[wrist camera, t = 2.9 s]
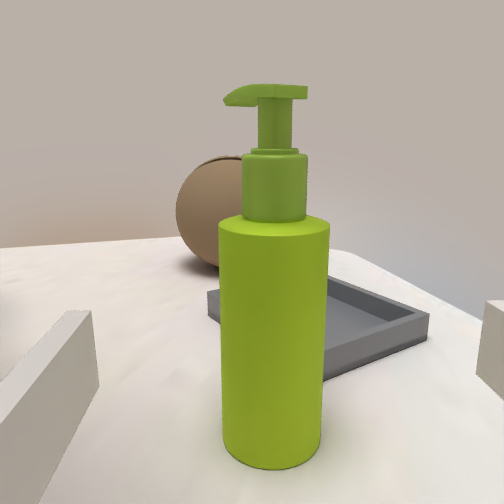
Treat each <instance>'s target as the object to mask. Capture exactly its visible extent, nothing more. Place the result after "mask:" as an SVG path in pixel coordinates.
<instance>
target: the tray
mask: <svg viewBox="0 0 504 504" xmlns="http://www.w3.org/2000/svg"><path fill="white" fill-rule="evenodd" d="M207 299H208V315H209V316H210V317H212V318H213V319H214V320H216V321H217V322H218V323H220V289H217V290H213V291H208V292H207ZM429 315H430V314H429V313H426V312H423V311H421V310H418V309H415V308H413V307H410V306H407V305H405V304H402V303H400V302H397V301H394V300H392V299H389V298H386V297H384V296H381V295H378V294H376V293H373V292H371V291H368V290H365V289H363V288H360V287H357V286H355V285H352V284H349V283H347V282H344V281H341V280H339V279H336V278H334V277H331V276H328V279H327V301H326V322H325V344H324V366H323V381H325V380H327V379H330V378H332V377H335V376H338V375H340V374H343V373H345V372H348V371H350V370H353V369H355V368H358V367H360V366H363V365H365V364H368V363H370V362H373V361H375V360H378V359H380V358H383V357H385V356H388V355H390V354H393V353H395V352H398V351H401V350H403V349H406V348H408V347H411V346H413V345H416V344H418V343H421V342H423V341H426V340H427V333H428V324H429Z"/></svg>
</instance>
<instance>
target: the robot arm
mask: <svg viewBox="0 0 504 504" xmlns="http://www.w3.org/2000/svg"><path fill="white" fill-rule="evenodd" d="M476 375H478V376H479V377H480V378H481V379H482V380H483V381H484V382H485V383H486V384H487V385H488V386H489V387H490V388H491V389H492V390H493V391H494V392H495V393H496V394H497V395H498V396H500V397H501V398H502V399H503V400H504V300H490V301H489V300H488V301H486V302H485V310H484V317H483V324H482V331H481V339H480V346H479V353H478V360H477V368H476ZM98 388H99V379H98V370H97V360H96V351H95V342H94V332H93V323H92V313H91V310H84V311H67V312H66V313H65V314H64V315H63V316H62V317H61V318H60V319H59V320H58V321H57V322H56V323H55V324H54V325H53V327H52V328H51V329H50V330H49V331H48V332H47V333H46V334H45V335H44V336H43V337H42V338H41V339H40V340H39V341H38V343H37V344H36V345H35V346H34V347H33V348H32V349H31V350H30V351H29V352H28V353H27V354H26V355H25V356H24V358H23V359H22V360H21V361H20V362H19V363H18V364H17V365H16V366H15V367H14V368H13V369H12V370H11V371H10V373H9V374H8V375H7V376H6V377H5V378H4V379H3V380H2V381H1V382H0V504H38V502H39V501H40V499H41V497H42V495H43V493H44V491H45V489H46V487H47V485H48V483H49V481H50V480H51V478H52V476H53V474H54V472H55V470H56V468H57V466H58V464H59V462H60V460H61V458H62V457H63V455H64V453H65V451H66V449H67V447H68V445H69V443H70V441H71V439H72V437H73V435H74V434H75V432H76V430H77V428H78V426H79V424H80V422H81V420H82V418H83V416H84V414H85V412H86V411H87V409H88V407H89V405H90V403H91V401H92V399H93V397H94V395H95V393H96V391H97V389H98Z"/></svg>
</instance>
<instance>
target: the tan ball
mask: <svg viewBox="0 0 504 504" xmlns="http://www.w3.org/2000/svg"><path fill="white" fill-rule="evenodd" d="M237 215H242V156H235V157H234V156H233V157H232V156H221V157H217V158H213V159H211V160H209V161H207V162H205V163H203V164H201V165H200V166H199V167H197V168H196V169H195V170H194V171H193V172H192V173H191V174H190V175H189V176H188V177H187V179H186V180H185V182H184V183H183V185H182V187H181V189H180V191H179V194H178V198H177V202H176V221H177V225H178V229H179V232H180V234H181V237H182V239H183V240H184V242H185V244H186V245H187V246H188V247H189V249H190V250H191V251H192V252H193V253H194V254H195V255H196V256H198V257H199V258H200V259H202V260H203V261H205V262H207V263H209V264H212V265H214V266H217V267H219V237H218V224H219V222H220V221H222V220H224V219H227V218H230V217H233V216H237Z"/></svg>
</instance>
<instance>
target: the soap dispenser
mask: <svg viewBox="0 0 504 504" xmlns="http://www.w3.org/2000/svg"><path fill="white" fill-rule="evenodd" d="M307 89H308V87H307V86H296V85H280V84H252V85H246V86H242V87H240V88H237V89H235V90H234V91H232V92H231V93H230V94H228V95H227V96H226V97H225V98H224V99H223V101H224V103H225V105H226V106H241V107H243V106H244V107H255V106H257V105H258V148H253V149H251V154H244V155H242V215H237V216H233V217H230V218H227V219H224V220H222V221H220V222H219V224H218V237H219V284H220V330H221V376H222V422H223V441H224V444H225V446H226V448H227V450H228V451H229V452H230V454H231V455H232V456H234V457H235V458H236V459H238V460H239V461H241V462H243V463H245V464H247V465H249V466H252V467H256V468H260V469H268V470H279V469H286V468H291V467H294V466H297V465H299V464H302V463H303V462H305V461H307V460H308V459H309V458H311V457H312V456H313V455H314V453H315V452H316V451H317V449H318V447H319V443H320V431H321V409H322V388H323V366H324V344H325V322H326V301H327V279H328V257H329V235H330V224H329V223H328V222H326V221H324V220H322V219H319V218H316V217H313V216H309V215H306V201H307V198H306V197H307V168H308V157H307V155H305V154H299V150H298V149H297V148H291V142H292V141H291V140H292V99H307Z"/></svg>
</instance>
